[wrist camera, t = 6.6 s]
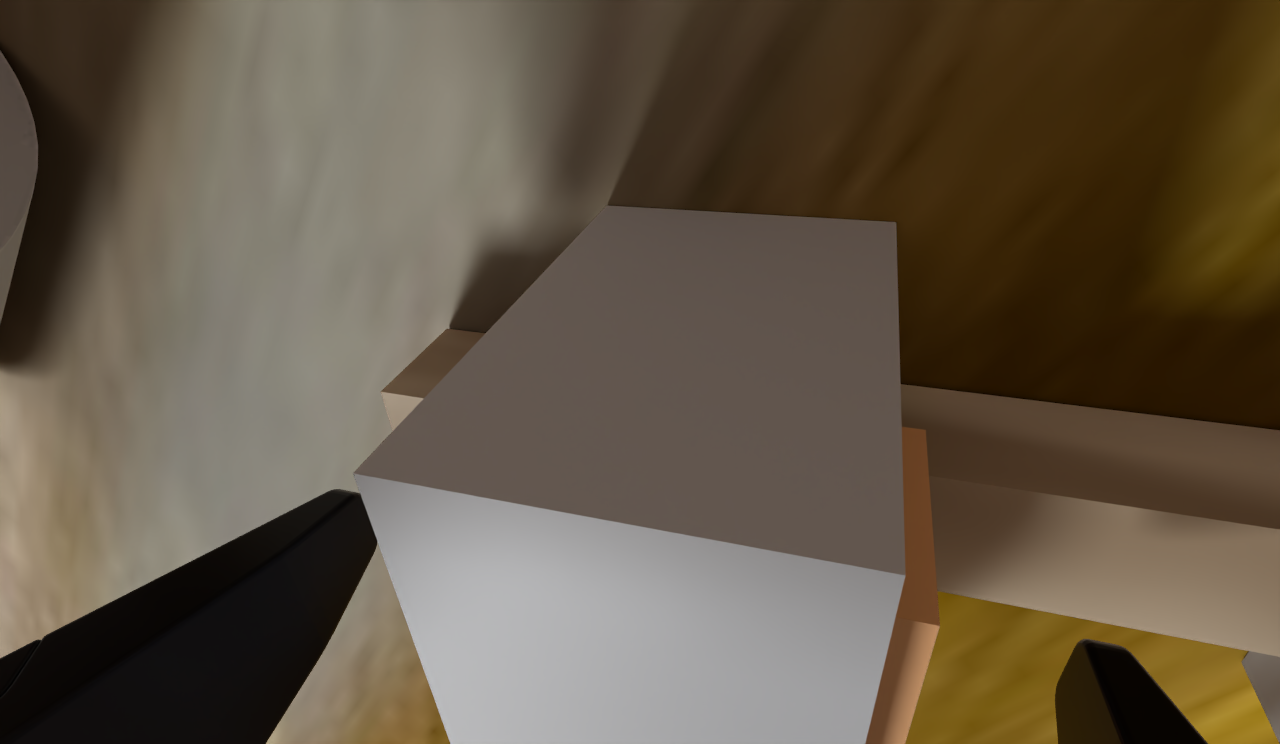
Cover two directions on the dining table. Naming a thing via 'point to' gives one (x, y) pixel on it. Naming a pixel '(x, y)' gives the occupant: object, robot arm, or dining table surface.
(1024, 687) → the dining table surface
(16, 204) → the toilet paper
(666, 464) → the white block orange stripe
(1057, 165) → the dining table surface
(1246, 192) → the dining table surface
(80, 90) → the dining table surface
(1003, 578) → the grey block with bar
